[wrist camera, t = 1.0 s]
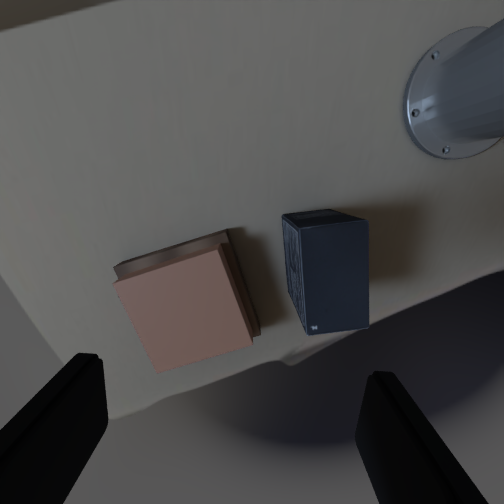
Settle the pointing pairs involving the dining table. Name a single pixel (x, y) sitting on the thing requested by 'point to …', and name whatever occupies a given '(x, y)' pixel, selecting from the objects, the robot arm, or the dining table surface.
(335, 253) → the small box
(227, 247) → the walnut slab
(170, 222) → the dining table surface
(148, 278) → the terracotta slab
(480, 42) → the robot arm
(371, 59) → the dining table surface
